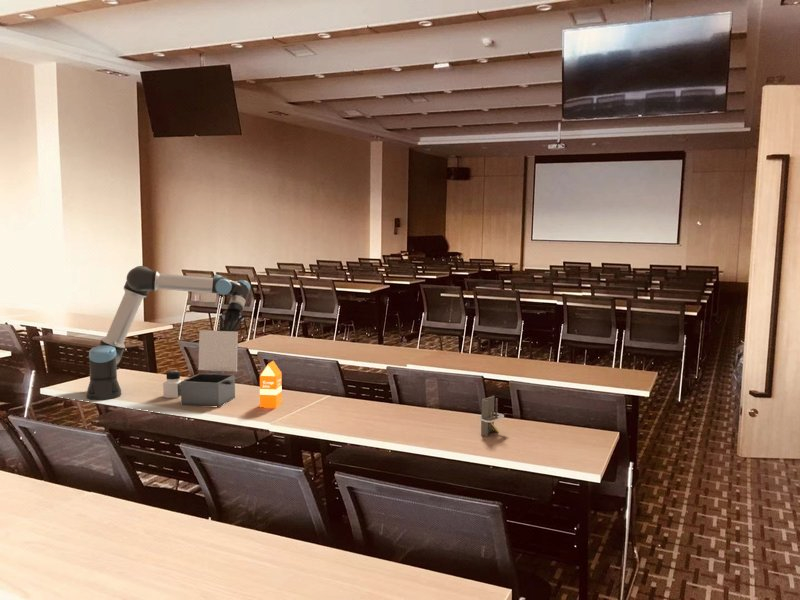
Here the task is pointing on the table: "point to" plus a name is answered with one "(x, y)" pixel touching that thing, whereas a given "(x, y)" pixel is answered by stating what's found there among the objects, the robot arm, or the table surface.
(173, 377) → the medicine bottle
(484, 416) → the architectural model
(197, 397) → the grey storage box
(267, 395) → the orange juice
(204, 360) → the gray box lid
